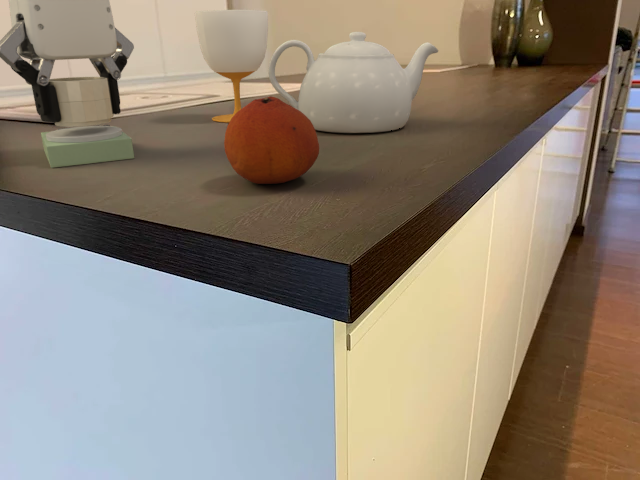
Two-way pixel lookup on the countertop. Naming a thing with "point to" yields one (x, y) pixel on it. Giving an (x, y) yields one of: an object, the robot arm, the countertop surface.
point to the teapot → (355, 86)
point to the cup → (233, 45)
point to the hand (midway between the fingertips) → (82, 116)
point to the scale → (86, 145)
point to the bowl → (83, 101)
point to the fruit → (270, 142)
